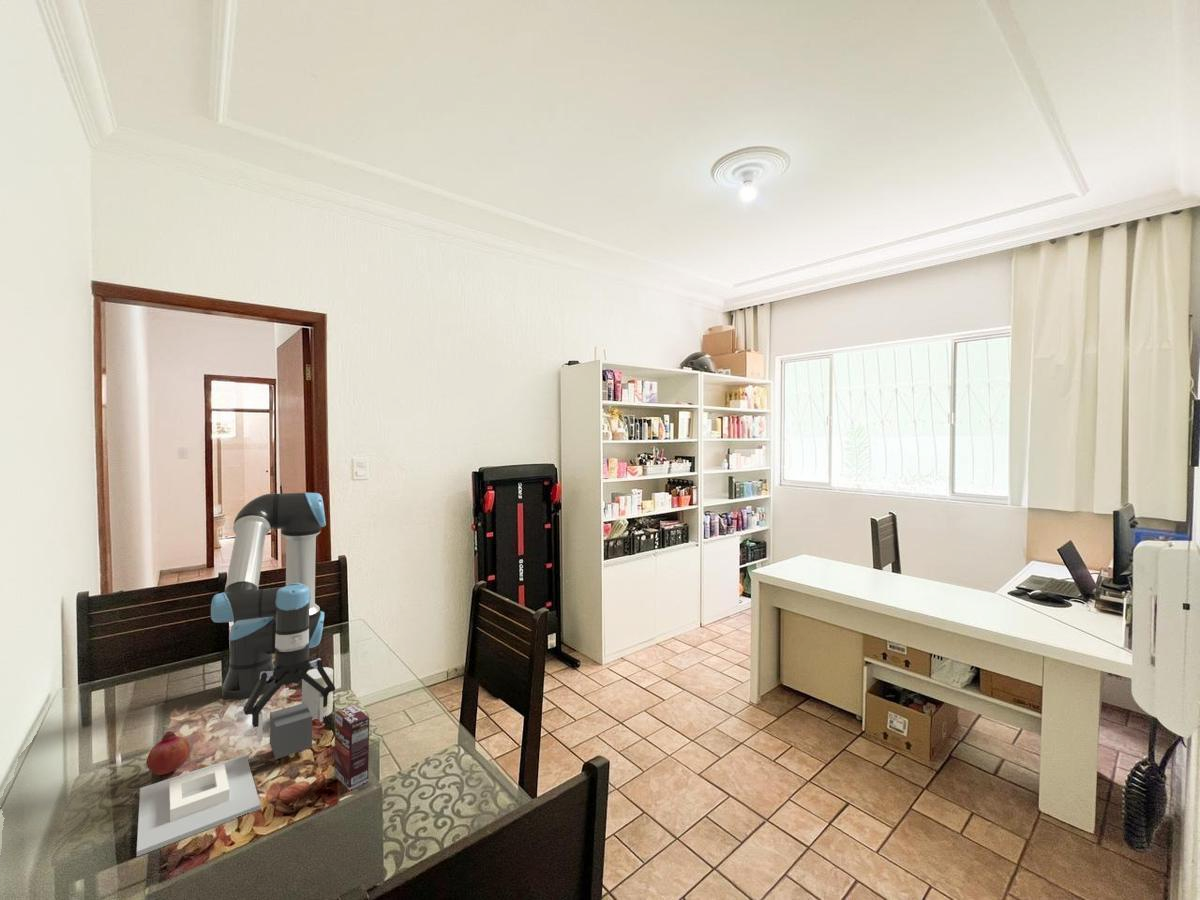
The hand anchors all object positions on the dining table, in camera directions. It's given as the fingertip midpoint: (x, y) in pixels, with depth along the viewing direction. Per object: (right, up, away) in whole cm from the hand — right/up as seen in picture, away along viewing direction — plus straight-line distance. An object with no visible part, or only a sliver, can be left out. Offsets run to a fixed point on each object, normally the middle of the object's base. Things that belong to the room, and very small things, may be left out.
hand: (290, 728), depth 130 cm
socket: (-10, -6, -18) cm, 21 cm away
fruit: (-25, -6, -8) cm, 27 cm away
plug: (0, -7, 0) cm, 7 cm away
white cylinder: (-5, -7, +20) cm, 22 cm away
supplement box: (+20, -7, -10) cm, 24 cm away
